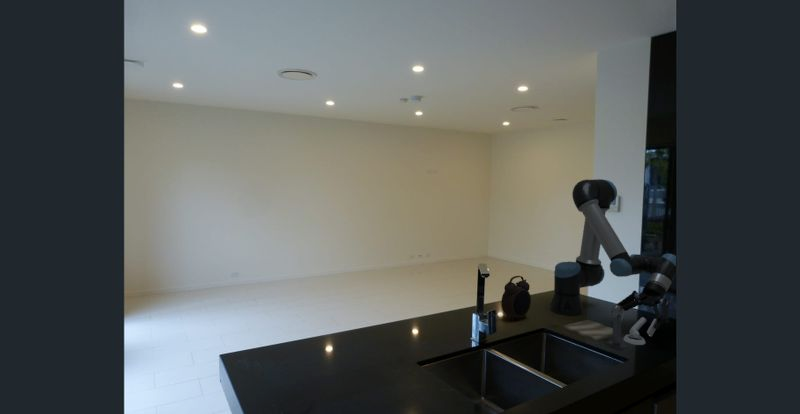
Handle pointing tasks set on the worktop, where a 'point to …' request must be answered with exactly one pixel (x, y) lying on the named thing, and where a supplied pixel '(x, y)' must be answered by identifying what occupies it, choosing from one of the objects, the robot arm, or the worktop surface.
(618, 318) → the eye post
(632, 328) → the hook
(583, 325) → the pad
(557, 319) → the worktop surface
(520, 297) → the alarm clock
